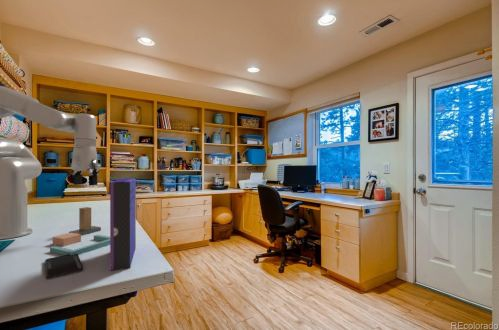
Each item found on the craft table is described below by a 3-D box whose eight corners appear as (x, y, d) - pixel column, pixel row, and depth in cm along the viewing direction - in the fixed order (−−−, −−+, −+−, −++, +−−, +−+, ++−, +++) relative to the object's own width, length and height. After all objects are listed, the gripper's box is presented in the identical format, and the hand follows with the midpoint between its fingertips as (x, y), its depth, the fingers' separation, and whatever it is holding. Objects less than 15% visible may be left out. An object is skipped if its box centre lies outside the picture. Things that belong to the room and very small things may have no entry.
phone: (77, 252, 76) (83, 268, 65) (77, 256, 76) (83, 272, 65) (44, 259, 71) (44, 277, 60) (44, 263, 71) (44, 281, 60)
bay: (49, 252, 79) (49, 247, 79) (97, 238, 93) (97, 234, 93) (71, 257, 74) (71, 252, 74) (117, 241, 89) (117, 237, 89)
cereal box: (120, 249, 81) (120, 178, 81) (135, 247, 83) (135, 178, 83) (110, 270, 65) (110, 181, 65) (129, 268, 67) (129, 181, 67)
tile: (52, 245, 86) (52, 236, 86) (70, 240, 92) (70, 232, 92) (63, 247, 84) (63, 238, 84) (81, 242, 90) (81, 234, 90)
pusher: (76, 237, 95) (76, 210, 95) (68, 235, 97) (68, 209, 97) (100, 230, 104) (100, 206, 104) (93, 229, 106) (93, 205, 106)
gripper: (62, 143, 101) (62, 184, 101) (89, 142, 94) (89, 186, 94) (81, 145, 108) (81, 183, 108) (107, 143, 101) (107, 184, 101)
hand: (85, 184), depth 101 cm, fingers open, 9 cm apart
